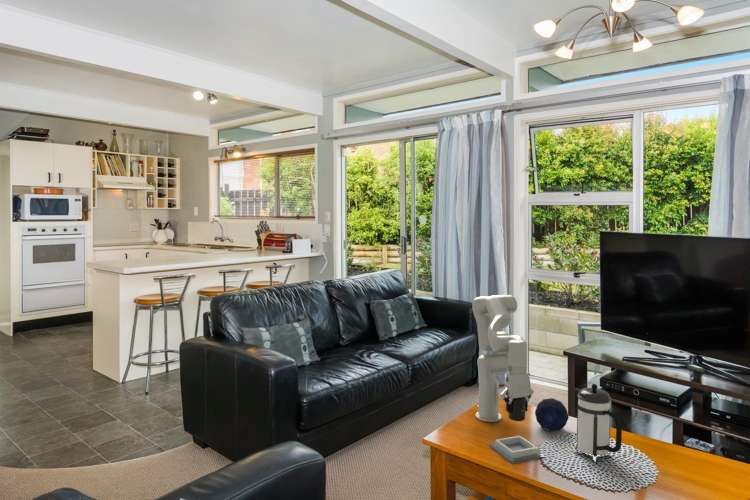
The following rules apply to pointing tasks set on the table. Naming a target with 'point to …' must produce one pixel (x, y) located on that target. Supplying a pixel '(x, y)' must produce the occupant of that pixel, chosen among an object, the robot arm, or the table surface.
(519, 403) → the supplement bottle
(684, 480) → the table surface
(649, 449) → the table surface
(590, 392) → the coffee press
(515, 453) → the rimmed tray
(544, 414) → the decorative orb
